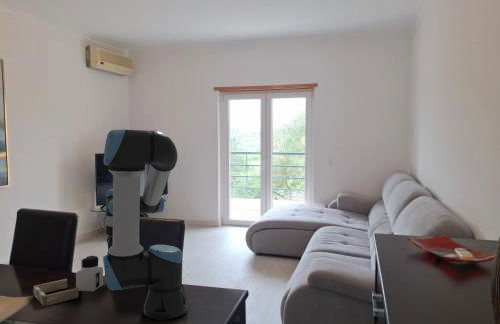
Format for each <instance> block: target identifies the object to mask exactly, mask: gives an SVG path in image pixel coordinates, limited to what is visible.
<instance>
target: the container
mask: <svg viewBox="0 0 500 324" xmlns="http://www.w3.org/2000/svg"><path fill="white" fill-rule="evenodd" d="M80 266H81V267H80V270H77V271H76V272H75V288H78V292H95V291H97V290H98V289H99V288H101V287H102V286H103V285H104V266H99V257H98V256H96V255H87V256H83V257H82V258H81V259H80Z"/></svg>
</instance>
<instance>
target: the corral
mask: <svg viewBox="0 0 500 324" xmlns="http://www.w3.org/2000/svg"><path fill="white" fill-rule="evenodd" d="M64 289H67V290H64ZM60 290H63V291H60ZM32 291H33V292H32V294H33V295H32V296H33V297H35V298H36V300H37V301H38V302H39V303H40V304H41V306H42V307H46V306H50V305H55V304H58V303H62V302H66V301H70V300H75V299H78V298H79V291H78V288H76V287H74V288H70V289H68V279H67V278H63V279H60V280H55V281H49V282H46V283H41V284H40V283H39V284H35V285H33V286H32ZM56 291H57V292H56ZM51 292H54V293H51ZM47 293H50V294H47Z"/></svg>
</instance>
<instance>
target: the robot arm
mask: <svg viewBox="0 0 500 324" xmlns="http://www.w3.org/2000/svg"><path fill="white" fill-rule="evenodd" d="M104 145H105V146H104V151H103V164H104V166H107V168H108V169H107V170H108V172H110V173H111V175H112V178H113V179H112V189H111V188H110V189H107V190H106V194H105V209H106V210H105V211H106V212H105V213H106V214H105V226H106V227H105V234H106V235H108V238H106V243H107V254H105V255H103V256H102V261H103V263H102V264H103V271H104V274H105V275H104V276H105V280H106V281H105V282H106V286H107V289H108V290H110V291H119V290H120V291H123V290H126V289H133V288H140V287H147V286H148V293H147V295H146V299H145V302H144V305H143V315H144V316H145V317H147V319H152V320H155V321H166V320H173V319H176V318H179V317H181V316H183V315H184V314H185V313H186V312H187V309H188V307H187V305H188V303H187V300H186V297H185V294H184V293H185V292H184V290H183V252H182V250H181V249H180V248H179V247H176V246H173V245H168V244H154V245H150V246H149V248H148V250H146V251H145V249H144V246H142V245H141V244H140V217H141V215H142V214H157V213H162V212H164V210H165V198H164V196H163V194H164V190H165V187H166V186H167V182H168V179H169V176H170V173H171V171H173V170H174V168H175V167H176V165H177V162H178V149H177V147H176V144H175V142H173V140H172V138H170V137H169V136H168V135H167V134H165V133H164V132H161V131H158V130H141V129H124V128H123V129H112V130H110V131H108V133H107V135H106V139H105V144H104ZM146 166H149V169H148V172H147V177H146V181H145V184H144V187H143V192H142V195H141V175H142V174H143V173H144V172H145V171H146Z"/></svg>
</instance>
